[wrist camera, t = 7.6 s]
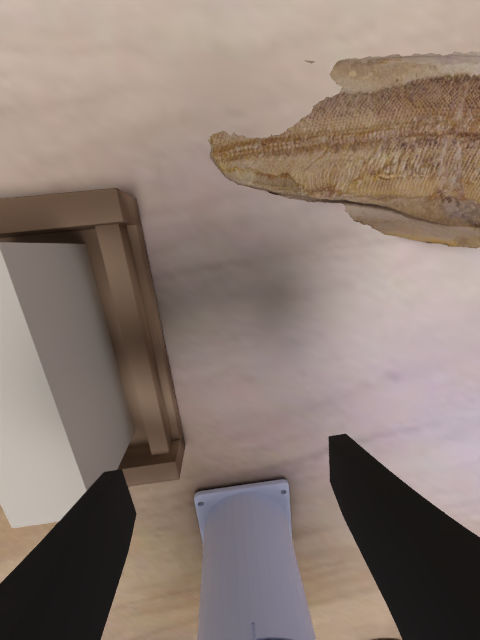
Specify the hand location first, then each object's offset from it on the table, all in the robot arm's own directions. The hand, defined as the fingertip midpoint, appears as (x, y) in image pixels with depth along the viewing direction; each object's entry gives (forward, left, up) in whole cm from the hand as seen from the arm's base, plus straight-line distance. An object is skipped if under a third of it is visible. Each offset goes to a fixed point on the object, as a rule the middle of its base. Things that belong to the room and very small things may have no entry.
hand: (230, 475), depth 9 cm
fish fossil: (+12, -13, -10) cm, 21 cm away
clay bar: (+2, +9, -9) cm, 13 cm away
